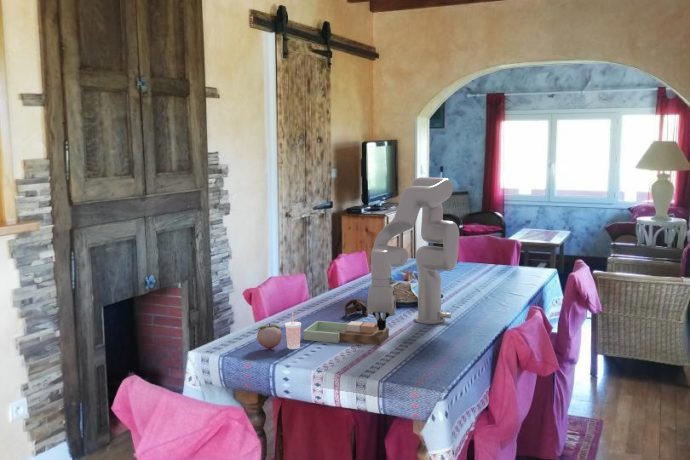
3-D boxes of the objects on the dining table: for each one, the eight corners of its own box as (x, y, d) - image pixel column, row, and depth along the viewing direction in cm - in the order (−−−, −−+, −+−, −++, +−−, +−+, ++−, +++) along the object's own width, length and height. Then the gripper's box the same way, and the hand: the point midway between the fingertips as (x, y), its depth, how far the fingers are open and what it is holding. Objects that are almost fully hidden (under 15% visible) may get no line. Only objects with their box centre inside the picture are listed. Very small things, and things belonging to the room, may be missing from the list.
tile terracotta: (377, 329, 260) (377, 323, 260) (373, 333, 256) (373, 326, 255) (364, 328, 262) (364, 322, 262) (360, 332, 257) (360, 325, 257)
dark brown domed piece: (369, 319, 290) (360, 304, 287) (350, 328, 292) (341, 313, 289) (370, 305, 301) (361, 290, 298) (351, 314, 303) (342, 299, 300)
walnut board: (388, 336, 263) (388, 327, 262) (379, 345, 252) (379, 336, 251) (349, 333, 268) (349, 324, 268) (339, 341, 257) (339, 332, 256)
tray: (350, 332, 269) (350, 323, 269) (337, 342, 256) (337, 333, 255) (317, 329, 274) (317, 320, 274) (303, 339, 261) (303, 330, 260)
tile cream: (363, 328, 262) (363, 322, 262) (359, 331, 257) (359, 325, 257) (351, 327, 264) (351, 321, 263) (347, 330, 259) (347, 324, 259)
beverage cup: (286, 344, 255) (285, 308, 253) (302, 344, 254) (301, 308, 252) (284, 349, 248) (283, 312, 247) (301, 349, 248) (300, 312, 246)
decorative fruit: (261, 354, 244) (260, 327, 242) (255, 348, 251) (254, 321, 250) (286, 350, 247) (285, 324, 246) (279, 344, 255) (278, 318, 253)
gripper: (403, 281, 255) (403, 328, 258) (365, 279, 260) (365, 325, 263) (397, 285, 248) (398, 334, 251) (359, 283, 253) (359, 330, 256)
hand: (381, 329), depth 257 cm, fingers closed
